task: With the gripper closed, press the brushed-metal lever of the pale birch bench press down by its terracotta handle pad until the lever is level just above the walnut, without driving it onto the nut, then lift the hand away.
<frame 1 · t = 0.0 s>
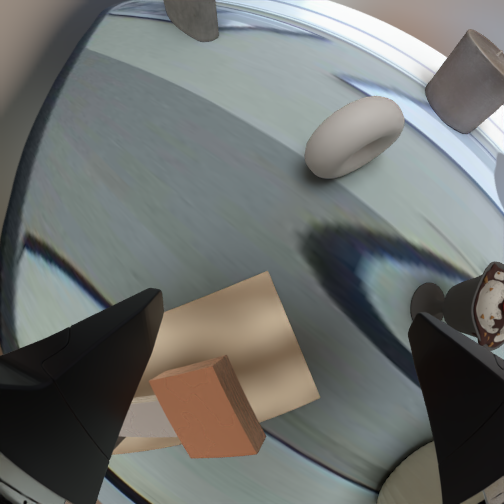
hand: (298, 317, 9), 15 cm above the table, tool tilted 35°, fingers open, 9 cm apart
lever: (130, 417, 14), point 8 cm above the table, hinge at -20.0°
pillar candle: (449, 108, 28), on the table
donut: (338, 165, 26), on the table
sundae: (426, 307, 24), on the table
canister: (417, 474, 20), on the table
hip flask: (187, 23, 30), on the table
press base: (178, 378, 22), on the table
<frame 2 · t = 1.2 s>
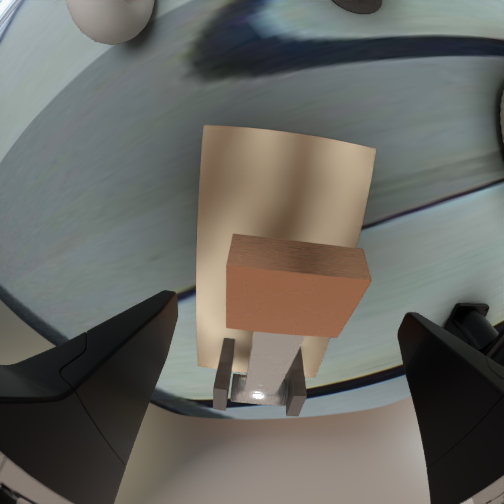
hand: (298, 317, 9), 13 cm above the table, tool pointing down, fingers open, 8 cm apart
lever: (270, 355, 15), point 8 cm above the table, hinge at -20.0°
donut: (143, 10, 14), on the table
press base: (272, 271, 23), on the table
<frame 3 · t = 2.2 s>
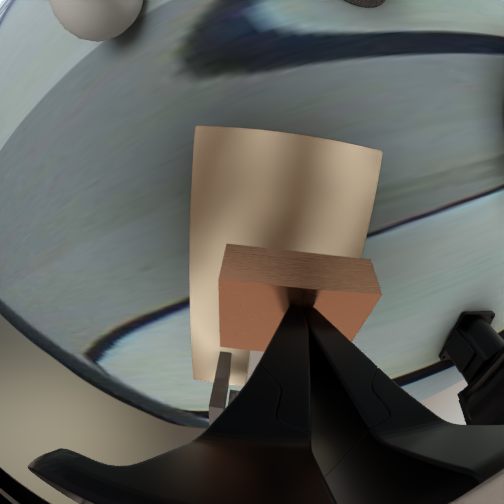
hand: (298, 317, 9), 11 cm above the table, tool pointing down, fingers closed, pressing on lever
lever: (269, 372, 14), point 8 cm above the table, hinge at -18.1°, touching gripper
donut: (133, 5, 13), on the table
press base: (271, 282, 21), on the table
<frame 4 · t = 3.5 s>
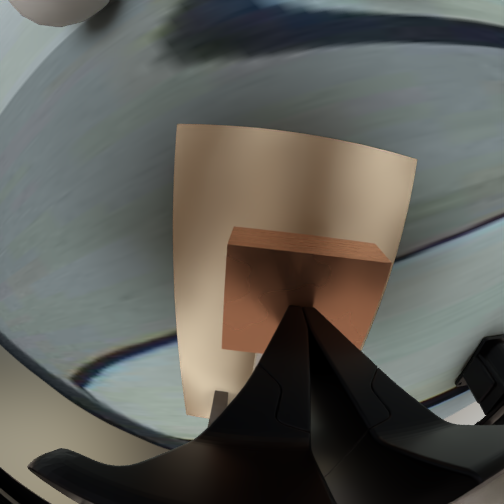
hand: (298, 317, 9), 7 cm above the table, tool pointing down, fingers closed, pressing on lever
lever: (273, 401, 12), point 6 cm above the table, hinge at -0.8°, touching gripper
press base: (274, 316, 17), on the table
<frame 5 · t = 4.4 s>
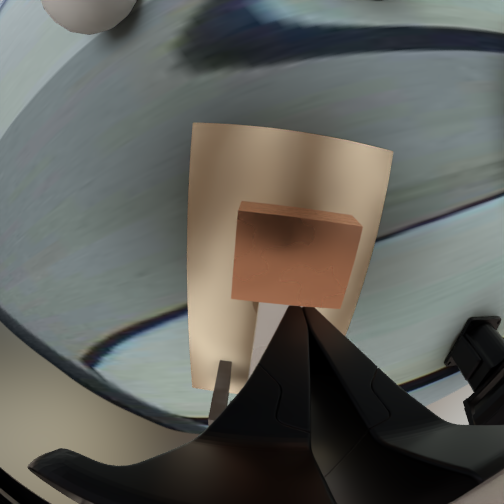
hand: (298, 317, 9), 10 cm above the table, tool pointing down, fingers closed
lever: (272, 356, 15), point 6 cm above the table, hinge at -0.8°
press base: (273, 289, 20), on the table
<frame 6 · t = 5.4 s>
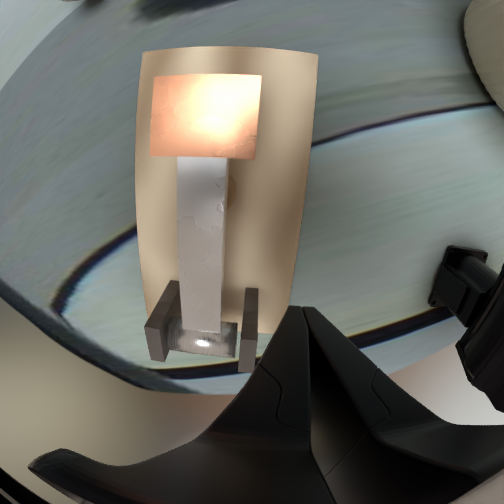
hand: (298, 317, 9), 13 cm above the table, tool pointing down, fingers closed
lever: (201, 236, 15), point 6 cm above the table, hinge at -0.8°
canister: (497, 62, 12), on the table
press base: (218, 196, 20), on the table
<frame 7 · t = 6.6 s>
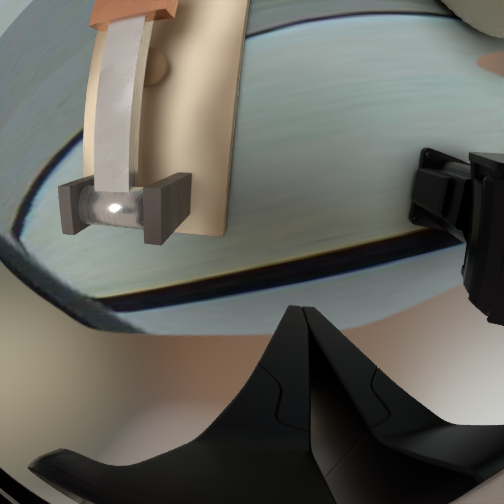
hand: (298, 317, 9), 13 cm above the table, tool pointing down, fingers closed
lever: (120, 86, 12), point 6 cm above the table, hinge at -0.8°
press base: (160, 87, 17), on the table
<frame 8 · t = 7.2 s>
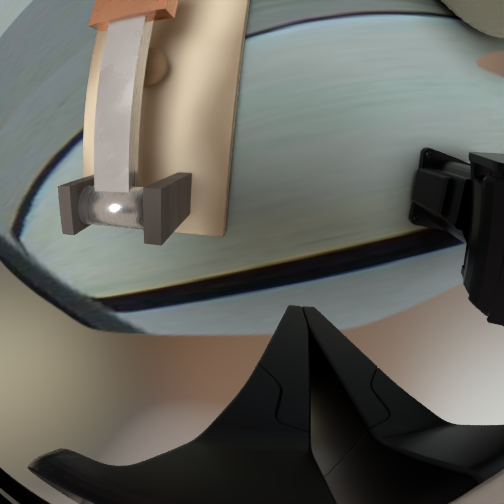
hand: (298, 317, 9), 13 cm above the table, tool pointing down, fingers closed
lever: (120, 86, 12), point 6 cm above the table, hinge at -0.8°
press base: (160, 87, 17), on the table
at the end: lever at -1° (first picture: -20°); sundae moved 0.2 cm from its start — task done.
